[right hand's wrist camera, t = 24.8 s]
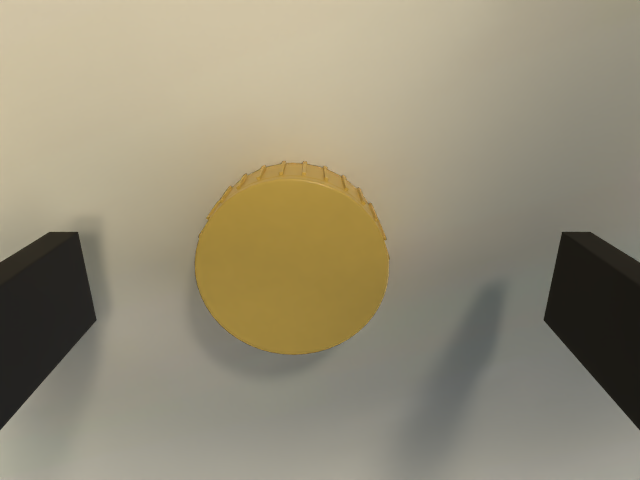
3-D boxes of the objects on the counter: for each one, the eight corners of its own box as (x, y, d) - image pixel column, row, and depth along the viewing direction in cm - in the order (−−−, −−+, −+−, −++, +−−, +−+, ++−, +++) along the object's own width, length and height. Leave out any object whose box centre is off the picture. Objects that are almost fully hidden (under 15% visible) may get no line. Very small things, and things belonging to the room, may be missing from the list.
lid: (170, 232, 14) (149, 258, 12) (309, 121, 13) (309, 131, 11) (283, 348, 16) (278, 387, 14) (415, 260, 14) (429, 289, 13)
